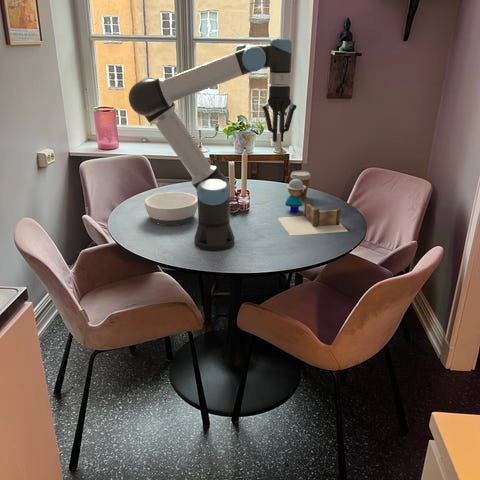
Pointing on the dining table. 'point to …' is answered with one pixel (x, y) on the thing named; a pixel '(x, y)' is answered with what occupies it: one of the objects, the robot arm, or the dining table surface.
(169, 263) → the dining table surface
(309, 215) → the fence gate
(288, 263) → the dining table surface
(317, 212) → the fence fixed
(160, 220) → the bowl
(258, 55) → the robot arm
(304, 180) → the disposable coffee cup
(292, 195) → the toy
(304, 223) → the card
